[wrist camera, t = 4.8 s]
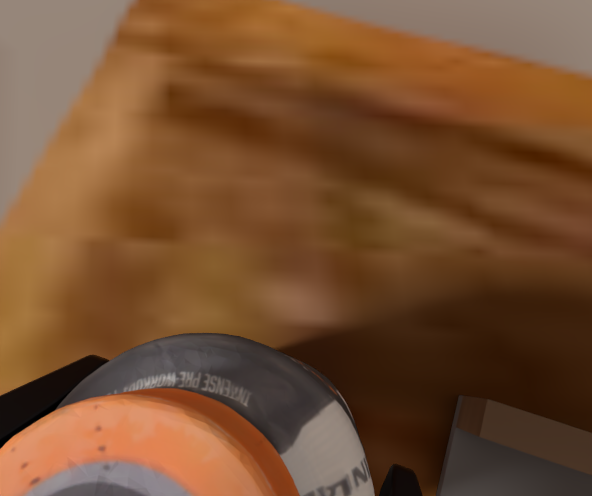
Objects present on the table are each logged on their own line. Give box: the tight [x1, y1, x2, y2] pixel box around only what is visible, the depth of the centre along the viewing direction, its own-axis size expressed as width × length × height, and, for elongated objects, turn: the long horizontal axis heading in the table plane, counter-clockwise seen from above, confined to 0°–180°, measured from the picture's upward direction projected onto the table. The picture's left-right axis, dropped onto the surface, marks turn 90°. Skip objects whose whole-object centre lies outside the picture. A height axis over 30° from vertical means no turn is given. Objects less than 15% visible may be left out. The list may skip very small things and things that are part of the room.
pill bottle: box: [0, 333, 375, 496], centre depth 10 cm, size 6×6×11 cm
